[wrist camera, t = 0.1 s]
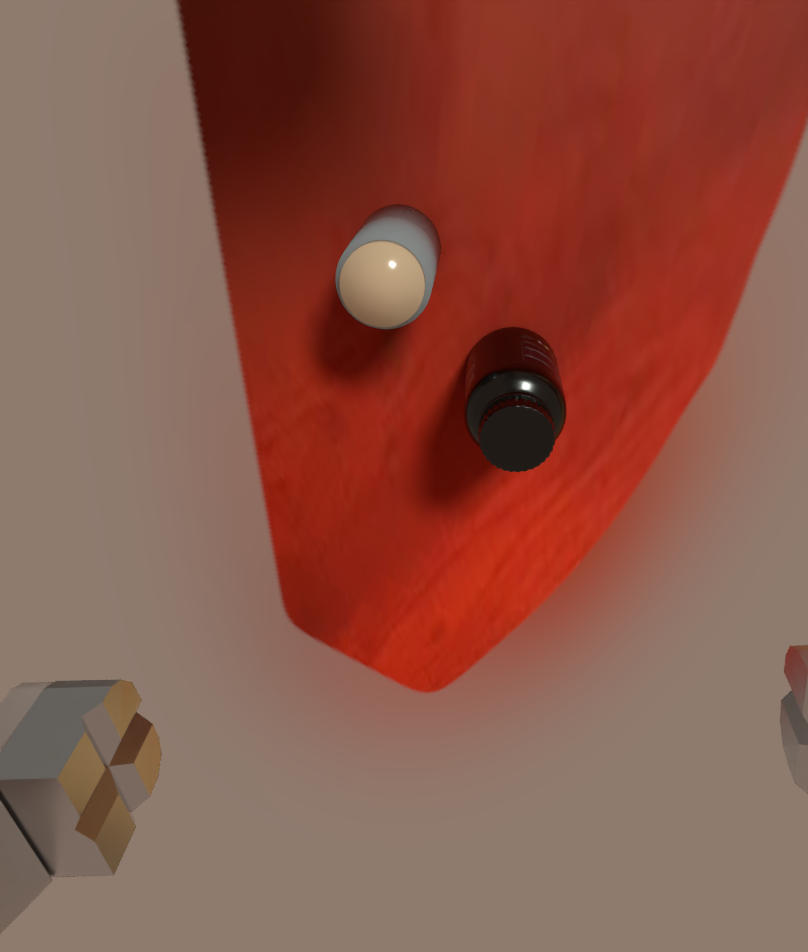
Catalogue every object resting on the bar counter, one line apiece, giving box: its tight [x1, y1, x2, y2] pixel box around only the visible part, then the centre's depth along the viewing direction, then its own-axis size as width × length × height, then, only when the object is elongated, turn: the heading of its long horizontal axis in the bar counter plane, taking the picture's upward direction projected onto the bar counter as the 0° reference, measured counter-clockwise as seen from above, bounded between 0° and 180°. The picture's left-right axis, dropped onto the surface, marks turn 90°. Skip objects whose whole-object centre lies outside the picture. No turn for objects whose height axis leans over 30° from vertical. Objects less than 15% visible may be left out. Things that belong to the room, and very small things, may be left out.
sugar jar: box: [336, 205, 441, 329], centre depth 51 cm, size 6×6×9 cm
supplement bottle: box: [464, 327, 566, 472], centre depth 53 cm, size 7×7×12 cm
